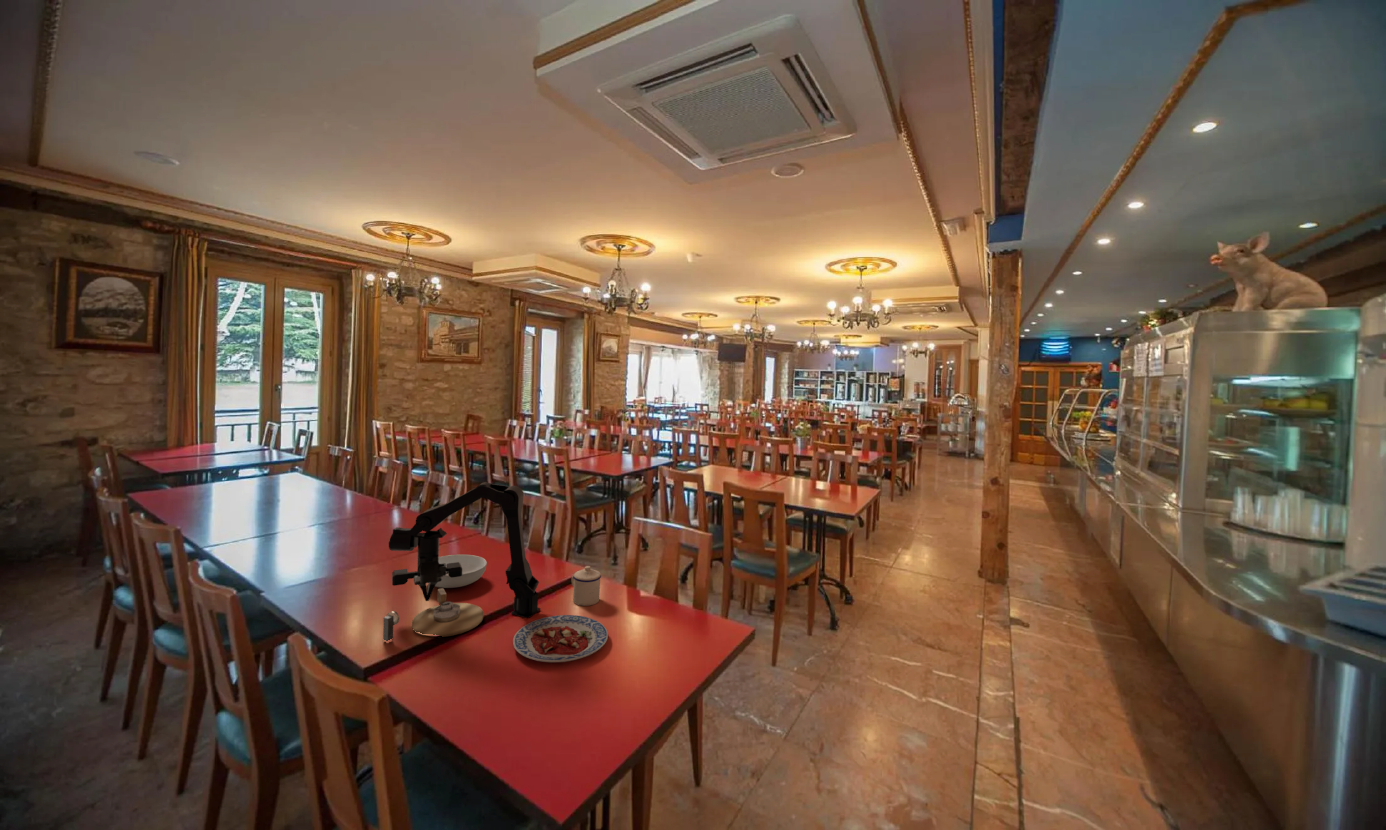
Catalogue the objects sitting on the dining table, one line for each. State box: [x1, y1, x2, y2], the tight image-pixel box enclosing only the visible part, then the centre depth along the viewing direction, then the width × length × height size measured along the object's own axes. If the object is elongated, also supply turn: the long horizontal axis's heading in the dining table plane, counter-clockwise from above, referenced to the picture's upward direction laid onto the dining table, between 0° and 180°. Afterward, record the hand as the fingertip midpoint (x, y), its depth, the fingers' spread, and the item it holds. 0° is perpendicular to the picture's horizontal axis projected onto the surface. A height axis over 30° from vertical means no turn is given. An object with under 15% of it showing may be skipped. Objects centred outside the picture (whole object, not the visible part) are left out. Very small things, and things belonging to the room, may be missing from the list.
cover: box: [434, 601, 460, 623], centre depth 148 cm, size 7×7×4 cm
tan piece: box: [411, 587, 484, 638], centre depth 148 cm, size 21×19×5 cm
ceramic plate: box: [512, 614, 609, 663], centre depth 141 cm, size 26×26×3 cm
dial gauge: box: [382, 610, 400, 641], centre depth 136 cm, size 4×3×8 cm
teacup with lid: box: [571, 565, 602, 607], centre depth 169 cm, size 12×9×12 cm
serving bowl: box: [435, 554, 488, 589], centre depth 176 cm, size 21×21×7 cm
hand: (427, 600), depth 154 cm, fingers closed
